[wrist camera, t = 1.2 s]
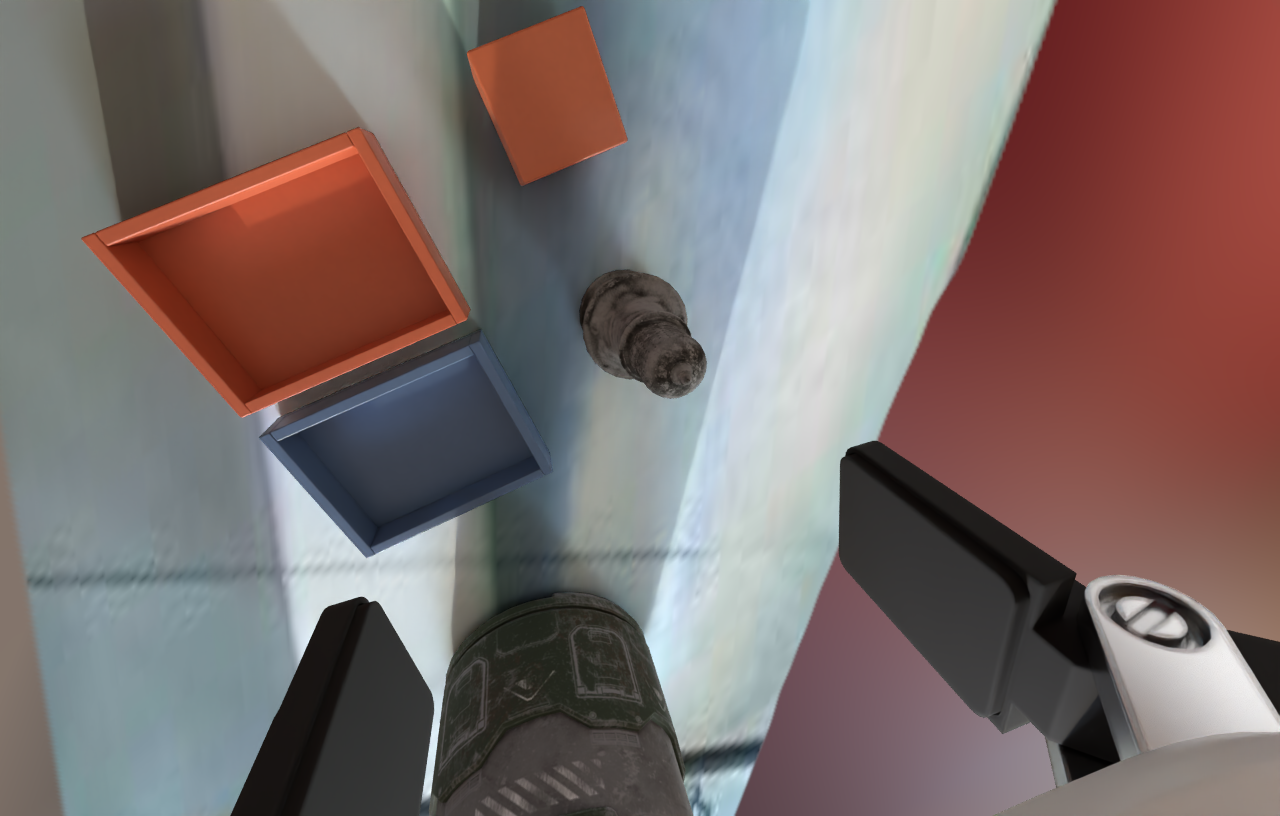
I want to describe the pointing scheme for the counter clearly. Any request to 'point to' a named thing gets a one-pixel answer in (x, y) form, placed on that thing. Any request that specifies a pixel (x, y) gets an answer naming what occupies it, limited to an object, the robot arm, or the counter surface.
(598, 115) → the terracotta block
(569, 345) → the counter surface
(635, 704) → the canister
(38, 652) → the counter surface
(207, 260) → the terracotta tray
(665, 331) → the dark chess piece
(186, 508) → the counter surface
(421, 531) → the blue tray
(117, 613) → the counter surface
